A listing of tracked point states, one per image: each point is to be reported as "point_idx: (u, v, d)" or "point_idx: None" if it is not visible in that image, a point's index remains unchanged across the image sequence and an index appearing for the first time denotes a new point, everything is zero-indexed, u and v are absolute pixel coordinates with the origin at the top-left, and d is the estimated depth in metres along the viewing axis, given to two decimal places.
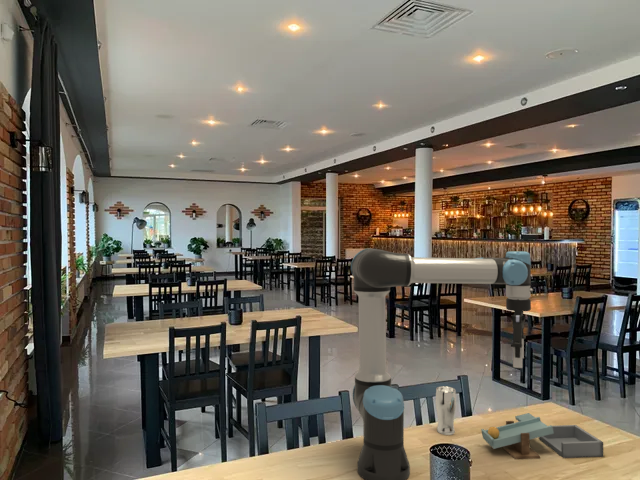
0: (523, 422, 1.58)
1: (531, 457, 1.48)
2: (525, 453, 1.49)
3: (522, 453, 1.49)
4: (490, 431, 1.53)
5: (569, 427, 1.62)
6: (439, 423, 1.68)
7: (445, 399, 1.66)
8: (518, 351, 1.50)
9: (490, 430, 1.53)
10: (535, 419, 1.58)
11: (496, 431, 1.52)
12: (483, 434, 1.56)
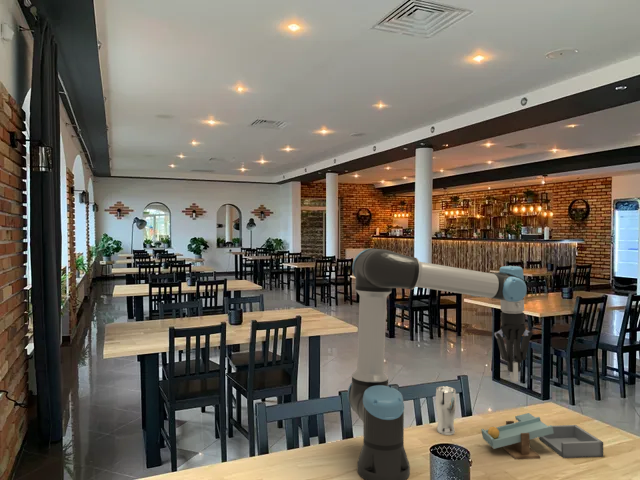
0: (523, 422, 1.58)
1: (531, 457, 1.48)
2: (525, 453, 1.49)
3: (522, 453, 1.49)
4: (490, 431, 1.53)
5: (569, 427, 1.62)
6: (439, 423, 1.68)
7: (445, 399, 1.66)
8: (509, 365, 1.62)
9: (490, 430, 1.53)
10: (535, 419, 1.58)
11: (496, 431, 1.52)
12: (483, 434, 1.56)
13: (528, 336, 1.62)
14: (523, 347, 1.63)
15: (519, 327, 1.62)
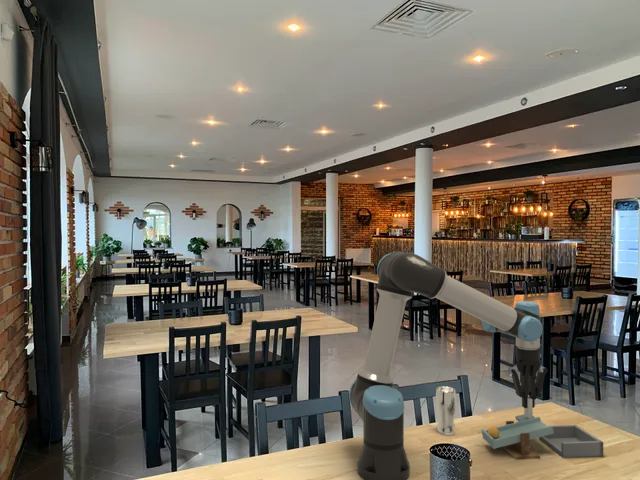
0: (523, 422, 1.58)
1: (531, 457, 1.48)
2: (525, 453, 1.49)
3: (522, 453, 1.49)
4: (490, 431, 1.53)
5: (569, 427, 1.62)
6: (439, 423, 1.68)
7: (445, 399, 1.66)
8: (523, 401, 1.62)
9: (490, 430, 1.53)
10: (535, 419, 1.58)
11: (496, 431, 1.52)
12: (483, 434, 1.56)
13: (543, 372, 1.61)
14: (538, 383, 1.62)
15: (534, 363, 1.61)
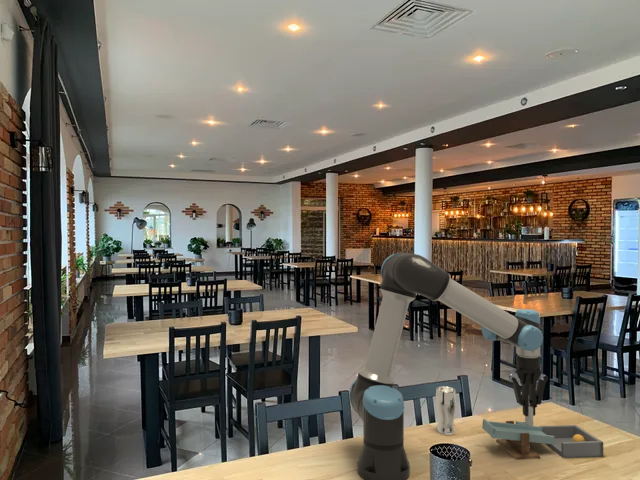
0: (524, 426, 1.58)
1: (531, 457, 1.48)
2: (525, 453, 1.49)
3: (522, 453, 1.49)
4: None
5: (569, 427, 1.62)
6: (439, 423, 1.68)
7: (445, 399, 1.66)
8: (524, 409, 1.62)
9: None
10: (537, 428, 1.58)
11: (578, 440, 1.54)
12: (484, 423, 1.56)
13: (544, 380, 1.61)
14: (538, 391, 1.62)
15: (535, 371, 1.61)
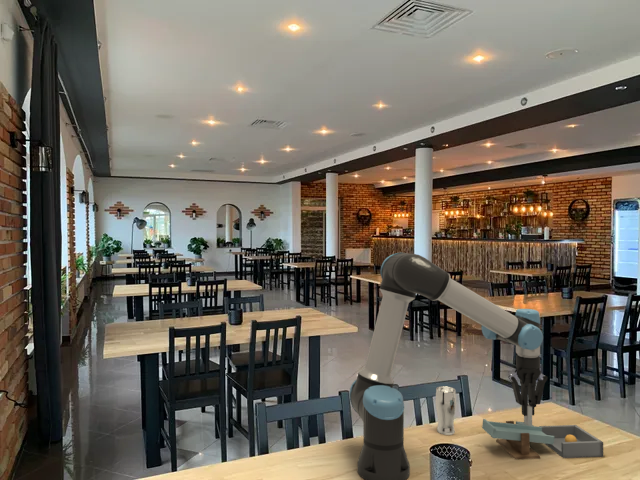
0: (524, 426, 1.58)
1: (531, 457, 1.48)
2: (525, 453, 1.49)
3: (522, 453, 1.49)
4: None
5: (569, 427, 1.62)
6: (439, 423, 1.68)
7: (445, 399, 1.66)
8: (523, 409, 1.62)
9: None
10: (537, 428, 1.58)
11: None
12: (484, 423, 1.56)
13: (543, 380, 1.61)
14: (538, 391, 1.62)
15: (534, 371, 1.61)
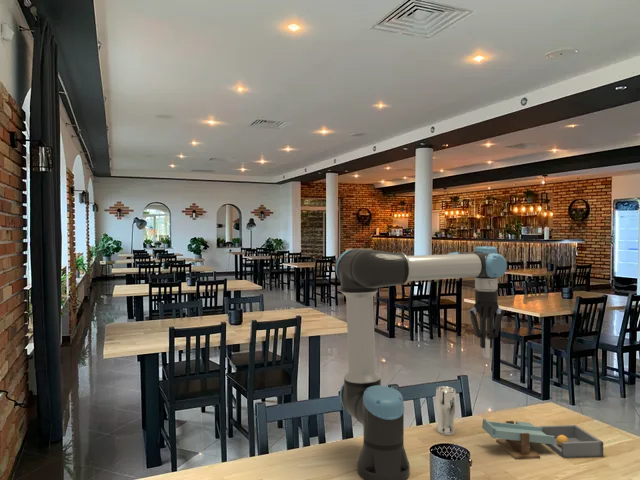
0: (524, 426, 1.58)
1: (531, 457, 1.48)
2: (525, 453, 1.49)
3: (522, 453, 1.49)
4: (566, 437, 1.55)
5: (569, 427, 1.62)
6: (439, 423, 1.68)
7: (445, 399, 1.66)
8: (481, 342, 1.68)
9: (566, 437, 1.55)
10: (537, 428, 1.58)
11: None
12: (484, 423, 1.56)
13: (501, 314, 1.68)
14: (496, 325, 1.68)
15: (492, 305, 1.68)
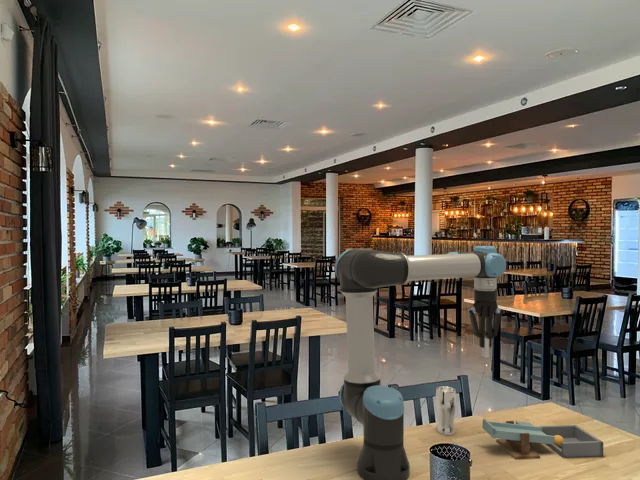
0: (524, 426, 1.58)
1: (531, 457, 1.48)
2: (525, 453, 1.49)
3: (522, 453, 1.49)
4: (558, 437, 1.54)
5: (569, 427, 1.62)
6: (439, 423, 1.68)
7: (445, 399, 1.66)
8: (480, 341, 1.68)
9: (558, 436, 1.55)
10: (537, 428, 1.58)
11: (563, 441, 1.54)
12: (484, 423, 1.56)
13: (500, 313, 1.68)
14: (495, 324, 1.69)
15: (491, 304, 1.68)
